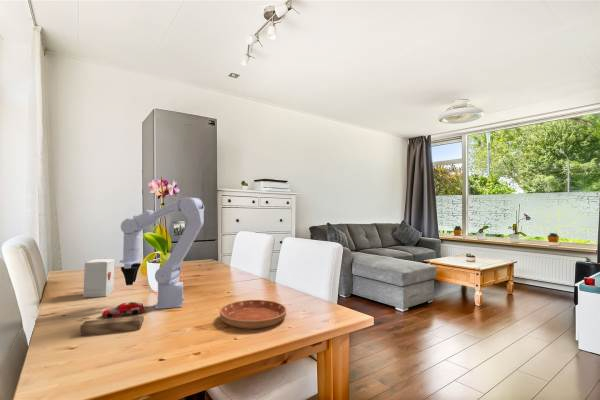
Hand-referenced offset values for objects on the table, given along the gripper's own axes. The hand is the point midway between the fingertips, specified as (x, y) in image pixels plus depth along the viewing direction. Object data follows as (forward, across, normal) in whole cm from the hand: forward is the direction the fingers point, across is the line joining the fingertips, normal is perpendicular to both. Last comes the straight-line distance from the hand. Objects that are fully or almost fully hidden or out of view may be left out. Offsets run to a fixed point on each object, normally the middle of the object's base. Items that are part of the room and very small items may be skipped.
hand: (130, 283), depth 122 cm
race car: (+9, +11, 0) cm, 14 cm away
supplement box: (+9, -20, -16) cm, 27 cm away
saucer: (+9, +29, +44) cm, 53 cm away
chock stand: (+8, +24, 0) cm, 26 cm away
